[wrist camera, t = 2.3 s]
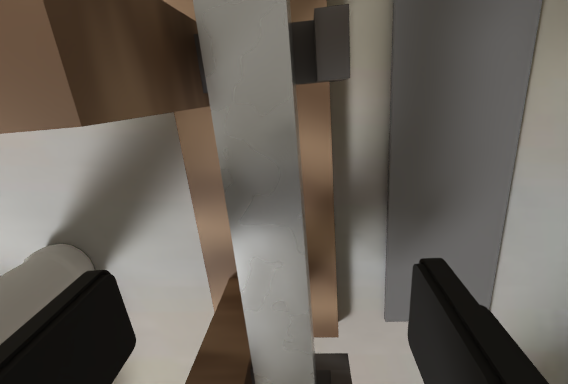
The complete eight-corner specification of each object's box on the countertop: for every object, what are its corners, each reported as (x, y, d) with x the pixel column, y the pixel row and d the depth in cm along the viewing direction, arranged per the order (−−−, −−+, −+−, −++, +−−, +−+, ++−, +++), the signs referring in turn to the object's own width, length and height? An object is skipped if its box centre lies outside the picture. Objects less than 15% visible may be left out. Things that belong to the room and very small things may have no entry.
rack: (336, 323, 25) (376, 643, 11) (224, 324, 26) (120, 618, 12) (324, -15, 17) (417, -610, 3) (163, 6, 18) (-426, -337, 4)
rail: (319, 422, 16) (321, 478, 14) (275, 421, 17) (270, 476, 14) (286, -48, 9) (279, -95, 7) (211, -37, 10) (179, -79, 7)
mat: (484, 316, 24) (487, 320, 23) (384, 318, 25) (385, 321, 24) (542, -32, 16) (548, -35, 16) (393, -14, 17) (395, -16, 17)
